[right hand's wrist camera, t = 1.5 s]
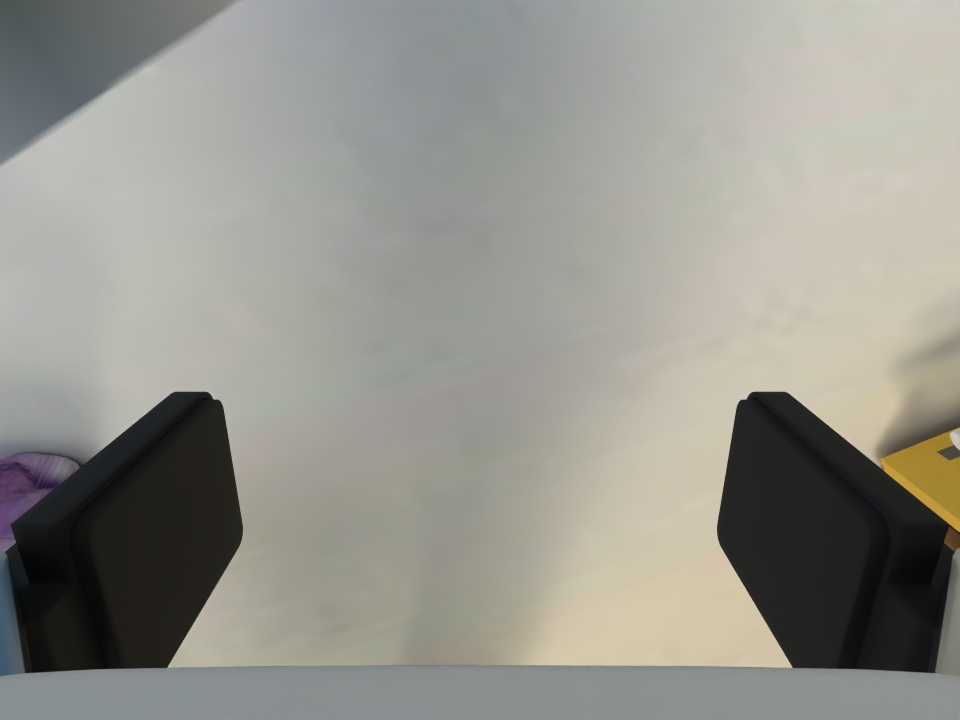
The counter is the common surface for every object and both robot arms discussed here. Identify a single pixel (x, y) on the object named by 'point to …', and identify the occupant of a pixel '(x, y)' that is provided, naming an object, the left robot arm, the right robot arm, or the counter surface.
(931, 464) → the drawer
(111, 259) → the counter surface
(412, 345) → the counter surface
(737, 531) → the right robot arm
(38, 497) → the figurine
